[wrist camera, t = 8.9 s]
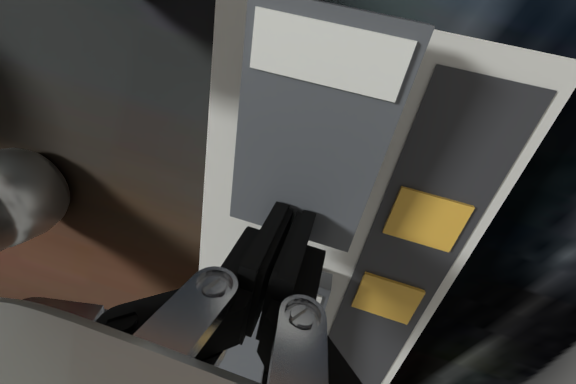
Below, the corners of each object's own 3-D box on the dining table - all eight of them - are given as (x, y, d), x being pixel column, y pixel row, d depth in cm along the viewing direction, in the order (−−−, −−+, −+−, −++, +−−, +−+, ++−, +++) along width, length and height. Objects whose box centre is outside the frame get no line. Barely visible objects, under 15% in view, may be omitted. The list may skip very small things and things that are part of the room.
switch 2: (294, 394, 18) (288, 422, 16) (214, 364, 18) (200, 388, 17) (332, 274, 16) (330, 292, 14) (240, 245, 16) (228, 259, 15)
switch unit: (344, 409, 28) (338, 477, 24) (211, 360, 30) (184, 415, 25) (534, 55, 13) (612, 65, 9) (252, -5, 15) (203, -21, 11)
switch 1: (351, 227, 13) (347, 254, 12) (243, 195, 14) (228, 218, 13) (427, 22, 9) (436, 26, 8) (266, -11, 10) (246, -14, 8)
